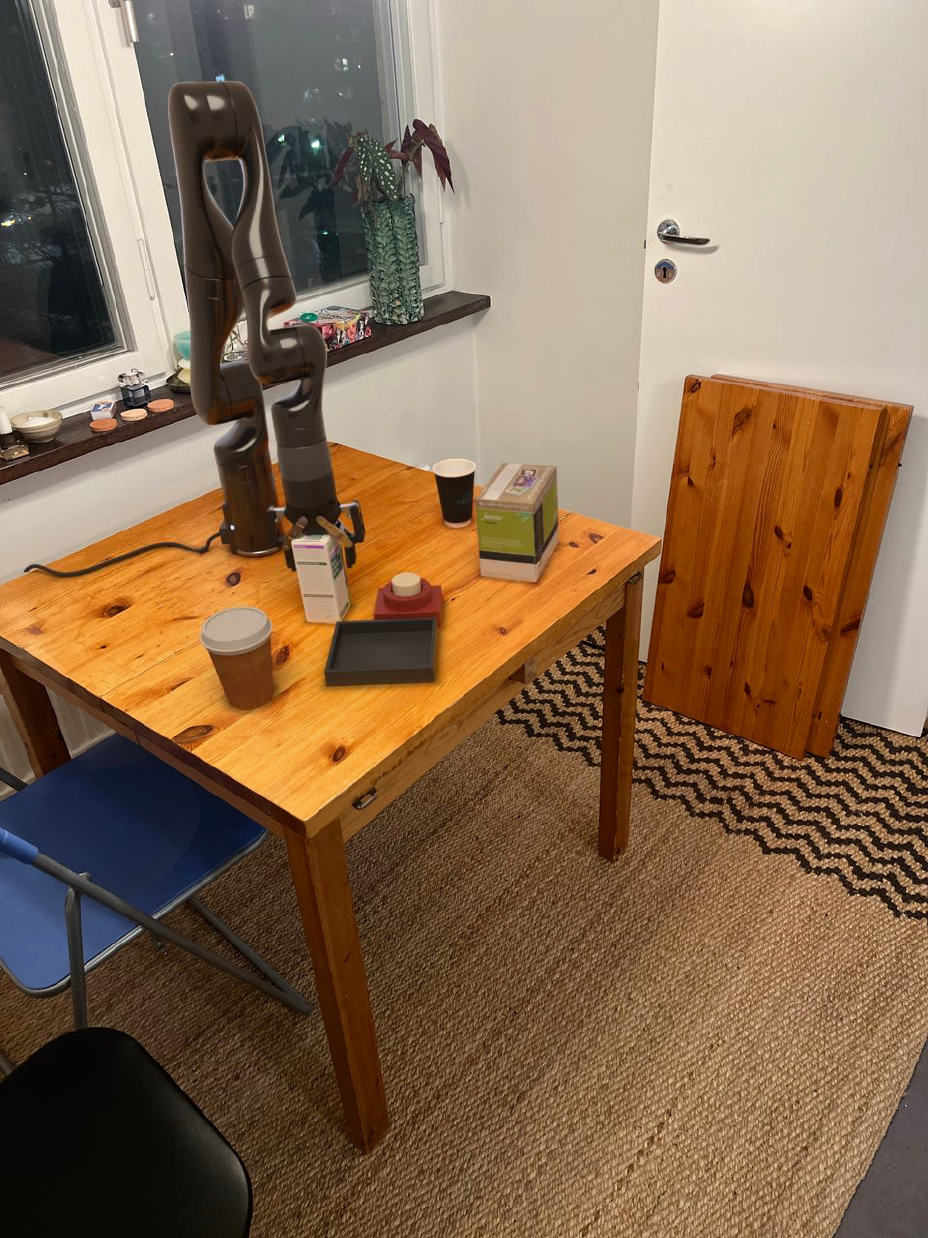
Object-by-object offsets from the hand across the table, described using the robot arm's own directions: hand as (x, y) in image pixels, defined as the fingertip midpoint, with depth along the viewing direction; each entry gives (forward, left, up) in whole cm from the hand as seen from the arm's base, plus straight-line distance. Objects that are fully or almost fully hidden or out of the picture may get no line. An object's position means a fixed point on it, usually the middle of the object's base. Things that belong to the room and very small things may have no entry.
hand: (322, 567), depth 140 cm
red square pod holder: (+13, -1, -9) cm, 15 cm away
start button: (+13, -1, -4) cm, 13 cm away
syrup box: (0, 0, -9) cm, 9 cm away
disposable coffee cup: (-8, -21, -9) cm, 24 cm away
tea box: (+31, +15, -9) cm, 35 cm away
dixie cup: (+20, +31, -9) cm, 38 cm away
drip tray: (+10, -13, -9) cm, 18 cm away
